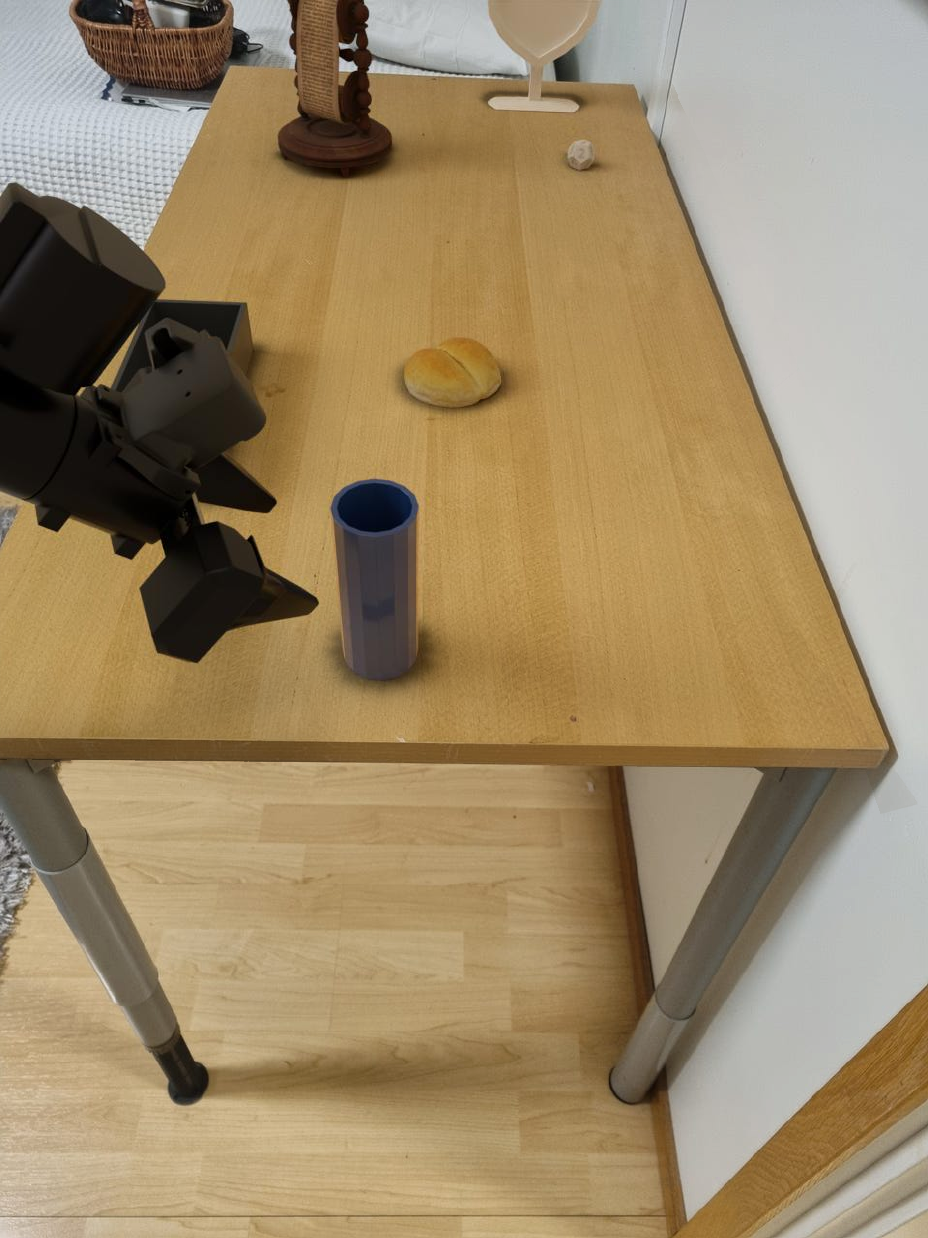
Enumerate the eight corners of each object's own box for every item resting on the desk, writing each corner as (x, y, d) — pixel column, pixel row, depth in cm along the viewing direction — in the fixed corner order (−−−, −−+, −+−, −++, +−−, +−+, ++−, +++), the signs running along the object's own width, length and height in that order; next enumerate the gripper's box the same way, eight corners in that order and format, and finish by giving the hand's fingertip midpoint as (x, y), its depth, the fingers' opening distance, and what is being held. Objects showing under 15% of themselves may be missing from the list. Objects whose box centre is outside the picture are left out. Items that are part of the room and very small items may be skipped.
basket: (213, 502, 76) (202, 448, 72) (102, 498, 76) (85, 444, 72) (254, 353, 91) (246, 302, 87) (161, 350, 91) (149, 298, 87)
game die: (560, 166, 124) (563, 142, 121) (577, 158, 125) (580, 134, 123) (581, 174, 122) (584, 150, 120) (598, 166, 124) (602, 142, 122)
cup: (352, 691, 64) (340, 542, 54) (337, 635, 67) (323, 485, 57) (425, 676, 65) (427, 528, 55) (407, 622, 68) (406, 473, 58)
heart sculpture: (481, 108, 136) (489, -39, 123) (480, 96, 139) (487, -49, 126) (587, 112, 137) (606, -34, 123) (583, 100, 140) (601, -44, 127)
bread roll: (388, 380, 89) (387, 342, 86) (465, 352, 93) (466, 316, 90) (437, 424, 85) (437, 386, 82) (515, 393, 88) (518, 356, 85)
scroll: (256, 161, 121) (234, -21, 106) (322, 125, 130) (311, -48, 115) (351, 189, 116) (342, 4, 101) (413, 150, 125) (413, -26, 110)
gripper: (179, 435, 36) (438, 566, 48) (108, 224, 48) (331, 370, 59) (29, 623, 40) (303, 703, 51) (-4, 385, 51) (226, 494, 63)
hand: (292, 554), depth 56 cm, fingers open, 9 cm apart
